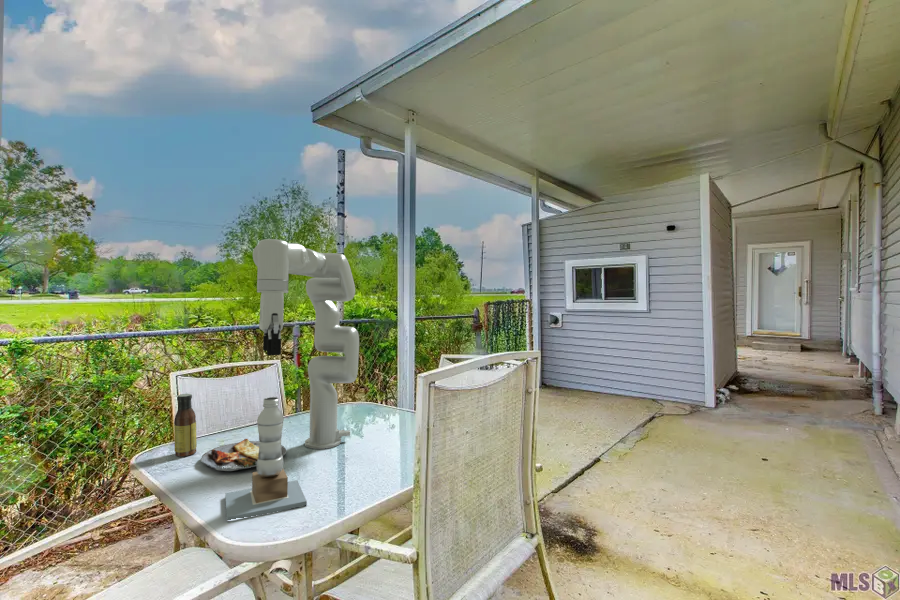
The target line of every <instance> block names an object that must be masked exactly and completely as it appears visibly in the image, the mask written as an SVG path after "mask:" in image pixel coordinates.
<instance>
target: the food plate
mask: <svg viewBox="0 0 900 600" xmlns="http://www.w3.org/2000/svg"><path fill="white" fill-rule="evenodd" d="M281 447H282V456H283V457H284V456H285V455H286V453H287V449H286V448H287V447H285V446H284V445H283V444H281ZM258 455H259V440H258V441H257V440H252V441H251V440H249V438H244V439H243V440H241V441H239V442H234V443H229V444H223V445H221V446H217V447H215V448H213V449H210V450H208V451H206V452H204V453H203V454H202V456H201V458H200V462H201V463H202V464H204V465H206V466H207V467H210V468H211V469H214V470H216V471H222V472H223V471H225V472H233V471H239V470H243V469H244V470H245V469H251V467H252V468H254V467H256V466H257V460H258ZM236 465H237V466H236ZM223 466H225V467H223ZM240 466H241V467H240ZM222 467H223V468H222ZM230 467H231V468H230ZM236 467H237V468H236Z"/></svg>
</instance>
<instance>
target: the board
mask: <svg viewBox="0 0 900 600" xmlns="http://www.w3.org/2000/svg"><path fill="white" fill-rule="evenodd" d="M224 497H225V499H224V500H225V513H226V514H225V516H227V518H226V521H227V520H231V519H236V518H244V517H251V516H256V515H260V516H263V515H262V514H265V515H268V514H267V513H270V514H273V512H275V513H279V512H283V510H284V511H288V510H287V509H289V510H292V509H291V508H294V509H296V508H295V507H299V508H301V507H300V506H303V507H305V506H304V505H307V506H308V503H307V502H308V500H307V499H306V496H305V494H304V492H303V490H302V487H301V485H300V483H299V481H298V479H296V480H290V481H289V480H288V491H287V497H283V498H278V499H273V500H269V501H264V502H259V503H256V502H255V499H254V496H253V493H252V487H251V488H246V489H245V488H244V489H239V490H236V491H235V490H234V491H228V492H225V495H224ZM277 511H278V512H277ZM256 517H257V516H256ZM251 518H252V517H251Z"/></svg>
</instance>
